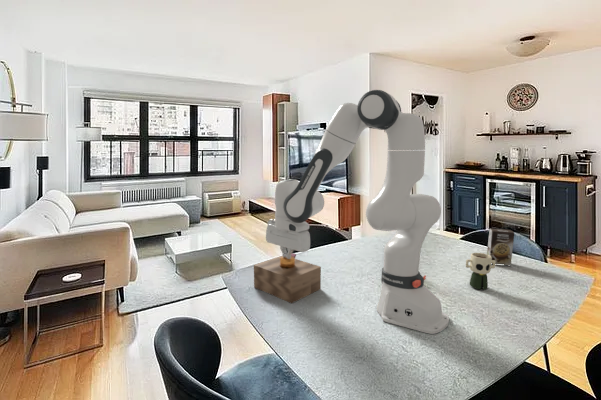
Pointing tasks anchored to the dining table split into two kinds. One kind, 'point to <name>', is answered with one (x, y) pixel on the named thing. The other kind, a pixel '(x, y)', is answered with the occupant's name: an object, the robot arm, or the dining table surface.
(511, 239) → the coffee box
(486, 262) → the character mug
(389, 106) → the robot arm
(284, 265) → the steel pin
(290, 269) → the walnut block
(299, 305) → the dining table surface
